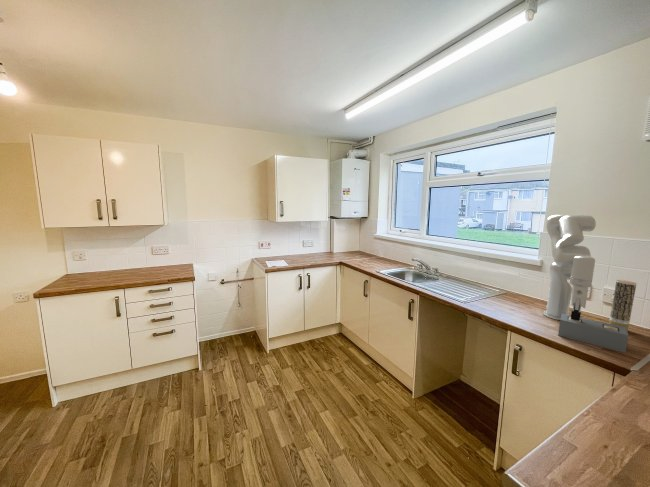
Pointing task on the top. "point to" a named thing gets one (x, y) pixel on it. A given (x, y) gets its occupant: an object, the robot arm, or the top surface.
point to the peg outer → (611, 328)
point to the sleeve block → (594, 333)
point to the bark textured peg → (622, 303)
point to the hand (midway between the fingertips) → (575, 319)
